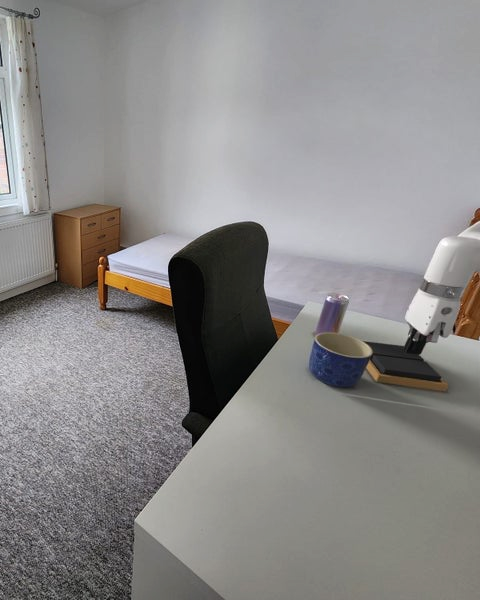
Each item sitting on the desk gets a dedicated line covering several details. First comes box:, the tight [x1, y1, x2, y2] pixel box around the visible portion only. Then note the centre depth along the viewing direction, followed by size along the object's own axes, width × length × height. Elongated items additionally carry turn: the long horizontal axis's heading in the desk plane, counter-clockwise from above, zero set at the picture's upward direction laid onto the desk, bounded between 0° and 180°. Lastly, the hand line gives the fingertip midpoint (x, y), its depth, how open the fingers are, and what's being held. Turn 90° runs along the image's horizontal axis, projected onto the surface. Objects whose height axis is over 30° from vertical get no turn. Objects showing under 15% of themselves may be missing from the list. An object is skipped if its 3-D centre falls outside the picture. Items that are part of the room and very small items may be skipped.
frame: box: [366, 360, 449, 392], centre depth 96 cm, size 15×17×2 cm
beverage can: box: [314, 293, 350, 336], centre depth 109 cm, size 6×6×15 cm
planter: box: [308, 332, 373, 388], centre depth 91 cm, size 12×12×11 cm
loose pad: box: [371, 355, 442, 382], centre depth 92 cm, size 12×7×4 cm, turn 73°
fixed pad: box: [362, 340, 425, 361], centre depth 99 cm, size 12×7×4 cm, turn 73°
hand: (411, 352), depth 89 cm, fingers closed
